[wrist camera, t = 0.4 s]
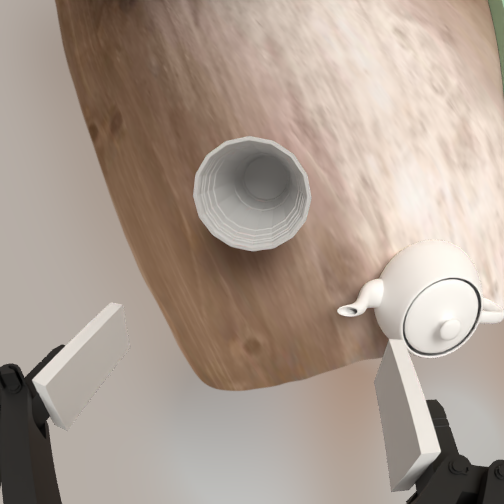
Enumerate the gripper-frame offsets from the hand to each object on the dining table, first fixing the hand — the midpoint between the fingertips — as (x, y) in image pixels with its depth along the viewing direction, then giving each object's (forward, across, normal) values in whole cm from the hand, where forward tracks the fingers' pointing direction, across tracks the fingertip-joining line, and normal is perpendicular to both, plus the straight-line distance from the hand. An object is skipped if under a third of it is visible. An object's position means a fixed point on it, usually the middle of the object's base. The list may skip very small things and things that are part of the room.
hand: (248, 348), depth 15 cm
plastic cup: (+28, -3, +4) cm, 28 cm away
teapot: (+28, +19, -8) cm, 35 cm away
